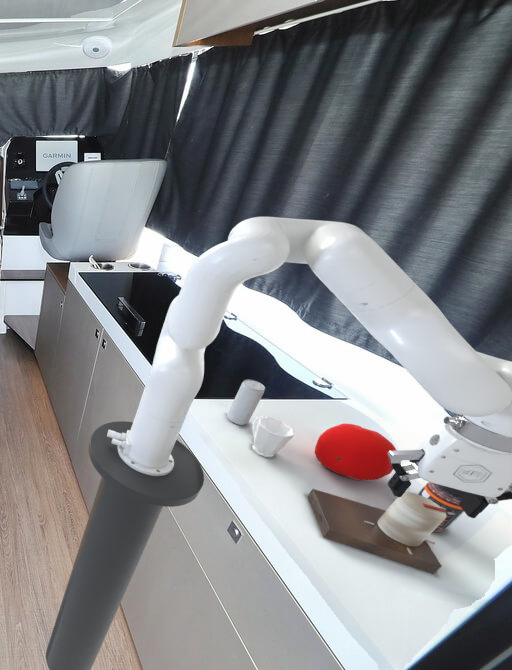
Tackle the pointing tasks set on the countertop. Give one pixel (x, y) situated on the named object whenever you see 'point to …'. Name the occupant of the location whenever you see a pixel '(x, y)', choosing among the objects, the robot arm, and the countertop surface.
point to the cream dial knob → (411, 519)
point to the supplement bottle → (445, 502)
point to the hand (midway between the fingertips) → (428, 501)
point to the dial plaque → (366, 531)
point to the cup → (270, 435)
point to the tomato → (354, 452)
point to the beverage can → (245, 402)
